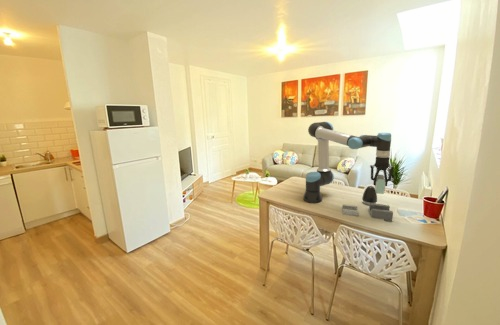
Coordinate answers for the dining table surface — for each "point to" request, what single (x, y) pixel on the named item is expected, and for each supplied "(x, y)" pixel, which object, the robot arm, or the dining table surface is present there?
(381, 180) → the plug
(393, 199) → the dining table surface
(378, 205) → the port
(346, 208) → the holster
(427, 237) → the dining table surface
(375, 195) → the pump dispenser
